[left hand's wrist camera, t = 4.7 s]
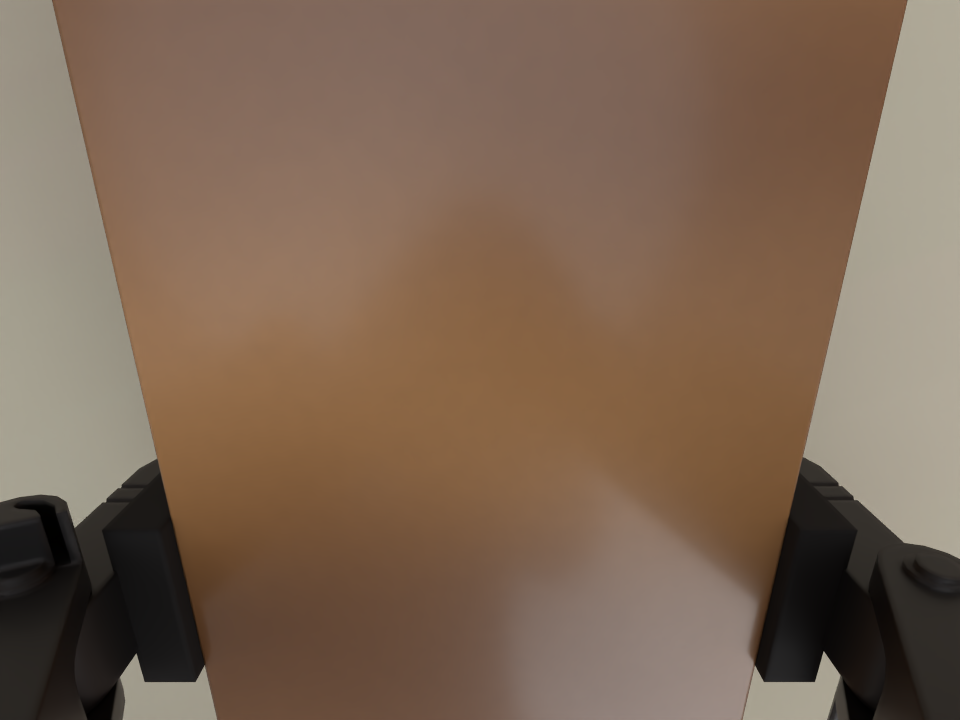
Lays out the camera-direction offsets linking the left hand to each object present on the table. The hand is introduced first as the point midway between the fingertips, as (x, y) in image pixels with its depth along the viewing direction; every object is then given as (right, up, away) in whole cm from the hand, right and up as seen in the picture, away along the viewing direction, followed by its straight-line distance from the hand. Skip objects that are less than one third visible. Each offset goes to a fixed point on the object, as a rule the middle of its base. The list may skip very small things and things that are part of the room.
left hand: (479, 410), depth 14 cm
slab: (0, +32, -11) cm, 34 cm away
